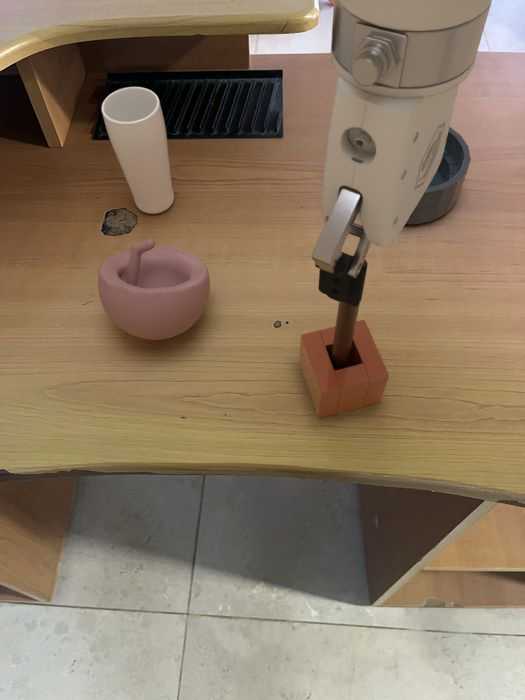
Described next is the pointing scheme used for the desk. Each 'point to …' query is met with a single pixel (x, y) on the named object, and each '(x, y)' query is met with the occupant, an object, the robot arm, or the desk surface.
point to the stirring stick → (344, 333)
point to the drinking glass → (140, 146)
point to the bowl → (444, 181)
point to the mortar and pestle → (154, 290)
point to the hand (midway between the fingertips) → (367, 251)
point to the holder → (342, 371)
